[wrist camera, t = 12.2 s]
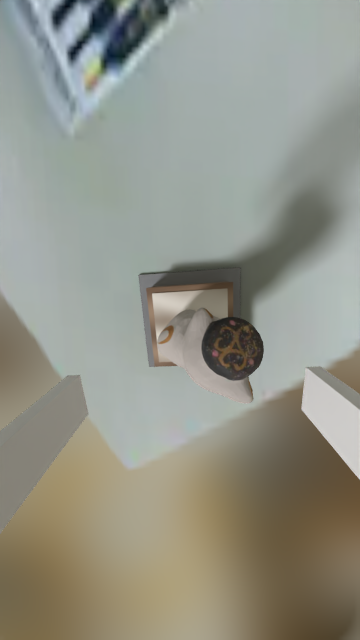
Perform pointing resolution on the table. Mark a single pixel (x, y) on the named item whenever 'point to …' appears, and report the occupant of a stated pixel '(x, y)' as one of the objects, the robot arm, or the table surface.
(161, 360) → the plinth
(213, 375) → the figurine
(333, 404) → the robot arm
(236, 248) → the table surface
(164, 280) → the mat
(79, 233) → the table surface
